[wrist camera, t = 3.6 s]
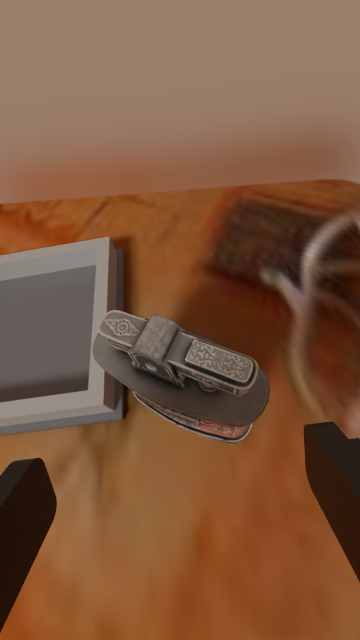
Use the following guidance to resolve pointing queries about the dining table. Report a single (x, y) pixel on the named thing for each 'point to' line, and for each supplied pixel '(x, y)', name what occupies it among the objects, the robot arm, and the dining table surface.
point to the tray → (57, 336)
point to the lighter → (183, 375)
